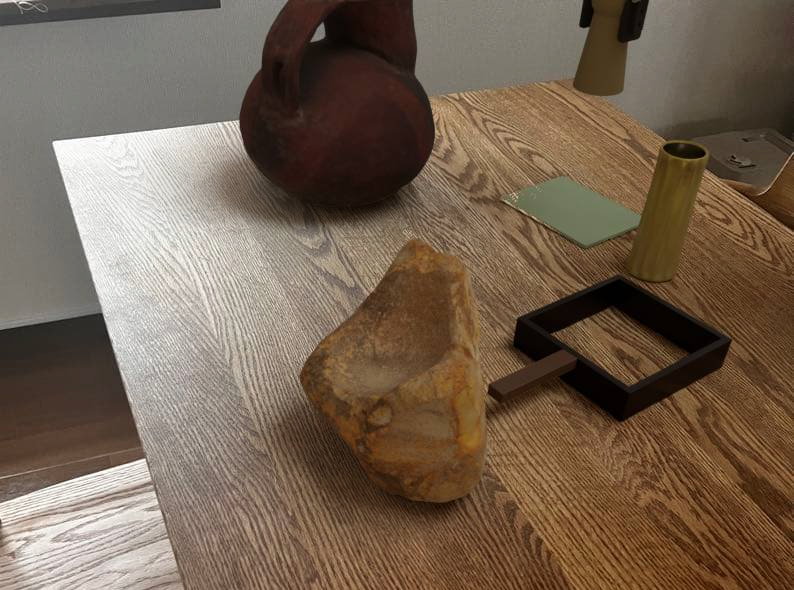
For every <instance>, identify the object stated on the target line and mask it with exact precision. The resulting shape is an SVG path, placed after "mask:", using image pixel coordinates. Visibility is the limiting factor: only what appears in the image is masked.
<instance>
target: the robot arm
mask: <svg viewBox="0 0 794 590" xmlns="http://www.w3.org/2000/svg"><path fill="white" fill-rule="evenodd" d="M649 3H650V0H628V1H626V2H625V4H624V9H623V14H622V19H621V24H620V28H619V33H618V41H619V42H621V43H625V42H628V43H629V42H632V41H637V40H639V39H640V38H641V36H642V31H643V30H644V25H645V21H646V17H647V12H648V8H649ZM581 5H582V6H581V11H580V15H579V23H578V25H579V28H580V29H581V28H582V29H587V28H588V29H589V27H590V24H591V21H592V17H593V14H594V9H593V6H592V0H583V1H582V4H581Z"/></svg>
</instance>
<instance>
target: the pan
mask: <svg viewBox="0 0 794 590" xmlns="http://www.w3.org/2000/svg"><path fill="white" fill-rule="evenodd" d="M612 307H613V308H614V309H616V310H617V311H619V312H621V313H623V314H624V315H626V316H627V317H629V318H631V319H632V320H633V321H636V322H637V323H639V324H640V325H642V326H644V327H645V328H647V329H649V330H651V331H652V332H654V333H655V334H658V336H660V337H662V338H664V339H665V340H667V341H668V342H670V343H671V344H673V345H675V346H677V347H678V348H680V349H682V350H683V351H685V352H687V353H688V354H689V355H686V356H684V357H683V358H681V359H679V360H677V361H675V362H674V363H671V364H669V365H668V366H666V367H663V368H662V369H660V370H658V371H656V372H654V373H652V374H650V375H648V376H646V377H645V378H642V379H640V380H639V381H636V382H635V383H633V384H631V385H628V384H627V383H625V382H623V381H622V380H620V379H619V378H617V377H616V376H614V375H612V373H610V372H608V371H607V370H605V369H604V368H603V367H601V366H599V365H598V364H597V363H595V362H593V361H592V360H591V359H588V358H587V357H585V356H584V355H583V354H581V352H578V351H577V350H576V349H574V348H572V347H571V346H570V345H567V344H566V343H564V341H562V340H560V339H559V338H558V337H555V336H554V335H553V334H554V333H555V334H556V333H557V332H559V331H561V330H563V329H566V328H567V327H570V326H572V325H574V324H577V323H579V322H581V321H583V320H585V319H588V318H590V317H592V316H594V315H597V314H599V313H601V312H603V311H606V310H607V309H610V308H612ZM512 341H513V342H512V347H514V348H515V349H516V350H518V351H519V352H520V353H522V354H523V355H525V356H526V357H528V358H529V359H530V360H532V361H533V363H530V364H528V365H526V366H524V367H521V368H520V369H518V370H515V371H513V372H511V373H509V374H507V375H505V376H503V377H501V378H498V379H496V380H494V381H492V382H490V383H488V387H487V393H486V394H487V395H488V396H489V397H490V398H492V399H493V400H495V402H497V403H498V404H500V405H503V404H505V403H507V402H509V401H511V400H514V399H515V398H518V397H519V396H521V395H523V394H526V393H527V392H530V391H532V390H534V389H536V388H538V387H540V386H542V385H544V384H546V383H548V382H550V381H552V380H555V379H556V378H558V379H559V380H561V381H562V382H563V383H564V384H565V385H568V386H569V387H570V388H571V389H573V390H574V391H576V392H577V393H579V394H580V395H581V396H582V397H584V398H586V399H587V400H588V401H590V402H591V403H593V404H595V405H596V406H597V407H599V408H600V409H601V410H603V411H604V412H606V413H607V414H609V415H610V416H612V417H613V418H614V419H616V420H617V421H619V422H620V423H622V422H624V421H626V420H627V419H628V420H629V418H631V417H634V416H635V415H637V414H640V413H641V412H642V411H644V410H646V409H648V408H651V406H653V405H655V404H657V403H659V402H661V401H663V400H664V399H667V398H668V397H671V396H672V395H674V394H675V393H678V392H679V391H681V390H683V389H684V388H687V387H689V386H690V385H692V384H694V383H697V382H698V381H699V380H701V379H703V378H705V377H707V376H709V375H711V374H712V373H714V372H716V371H718V370H720V369H722V368H723V365H724V363H725V361H726V358H727V355H728V352H729V350H730V347H731V345H732V342H733V338H731V337H729V336H727V335H726V334H724V333H723V332H721V331H719V330H718V329H716V328H714V327H712V326H711V325H708V323H705V322H704V321H702V320H700V319H698V318H696V317H695V316H693V315H691V314H689V313H688V312H686V311H684V310H682V309H681V308H679V307H677V306H676V305H674V304H673V303H670V302H669V301H667V300H665V299H664V298H662V297H660V296H658V295H657V294H655V293H653V292H651V291H649V290H648V289H646V288H644V287H643V286H641V285H639V284H637V283H635V282H634V281H632V280H630V279H629V278H627V277H625V276H624V275H622V274H620V273H617V274H615V275H613V276H610V277H608V278H606V279H604V280H603V279H602V281H599V282H597V283H594V284H592V285H589V286H588V287H587V286H586V287H585V288H582V289H580V290H578V291H575V292H574V293H571V294H569V295H567V296H564V297H562V298H558V299H557V300H554V301H553V302H551V303H548V304H545V305H543V306H541V307H539V308H536V309H534V310H532V311H530V312H527V313H525V314H523V315H520V316H518V317H516V323H515V329H514V335H513V340H512Z"/></svg>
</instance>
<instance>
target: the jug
mask: <svg viewBox="0 0 794 590" xmlns="http://www.w3.org/2000/svg"><path fill="white" fill-rule="evenodd" d="M322 24H323V28H324V37H322V38H321V39H318V40H313V38H314V36H315V35H316V33H317V30H318V28H319V27H320V26H321V25H322ZM415 26H416V25H415V15H414V0H287V2H286V3H285V4H284V5H283V7H282V8H281V10H280V11H279V13H278V14H277V16H276V17H275V19H274V20H273V22H272V24H271V26H270V27H269V30H268V32H267V34H266V36H265V40H264V44H263V47H262V52H261V66H260V67H261V68H260V69H259V70H258V71H257V72H256V73H255V74H254V76H253V78H252V80H251V82H250V83H249V85H248V87H247V89H246V91H245V94H244V96H243V98H242V102H241V105H240V110H239V116H238V126H239V132H240V136H241V141H242V145H243V147H244V150H245V152H246V154H247V156H248V158H249V159H250V160H251V162H252V163H253V165H254V166H255V167H256V169H257V170H258V171H259V172H260V174H262V176H264V177H265V178H266V179H267V180H268V181H269V182H270V183H272V184H273V185H275V186H276V187H277V188H278V189H280V190H281V191H283V192H284V193H286V194H288V195H290V196H291V197H293V198H295V199H297V200H300V201H302V202H305V203H308V204H310V205H314V206H315V205H316V206H320V207H328V208H349V207H358V206H364V205H368V204H369V205H370V204H373V203H376V202H379V201H382V200H385V199H387V198H389V197H390V196H392V195H394V194H396V193H397V192H399V191H401V190H402V189H403V188H405V187H406V186H407V185H409V184H410V183H412V182H413V181H414V180H415V179H416V178H417V177H418V176H419V174H421V172H422V171H423V170H424V168H425V166H426V164H427V162H428V161H429V159H430V157H431V155H432V152H433V149H434V145H435V140H436V125H435V124H436V123H435V120H434V114H433V109H432V105H431V101H430V99H429V96H428V94H427V92H426V91H425V88H424V86H423V84H422V83H421V81H419V79H418V78H417V76H416V64H417V58H418V39H417V34H416V27H415ZM312 40H313V41H312Z"/></svg>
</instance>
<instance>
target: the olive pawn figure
mask: <svg viewBox="0 0 794 590" xmlns="http://www.w3.org/2000/svg"><path fill="white" fill-rule="evenodd" d="M626 1H628V0H592V6H593V9H594V14H593V17H592V21H591V24H590V27H588V31H587V35H586V38H585V41H584V44H583V48H582V51H581V55H580V58H579V61H578V65H577V68H576V71H575V75H574V78H573V81H572V87H573V89H575V90H576V91H578V92H580V93H582V94H585V95H589V96H597V97H613V96H616V95H619V94H621V93H623V92H624V90H625V89H624V88H625V78H626V68H627V60H628V59H627V58H628V57H627V56H628V47H629V42H625V43H621V42H619V41H618V33H619V28H620V24H621V19H622V14H623V9H624V4H625V2H626Z"/></svg>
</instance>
